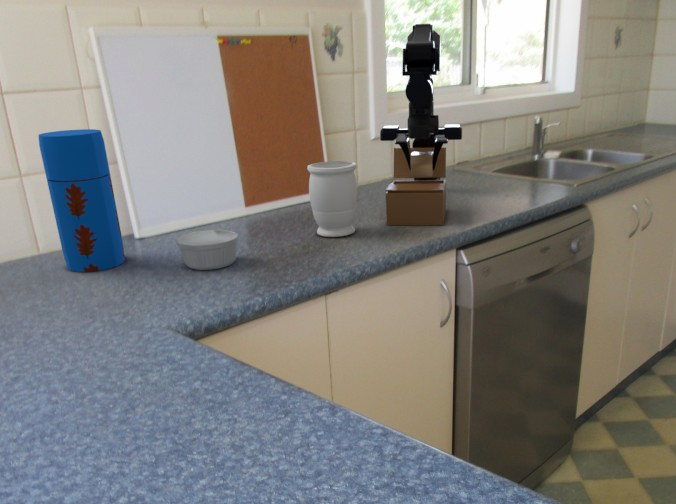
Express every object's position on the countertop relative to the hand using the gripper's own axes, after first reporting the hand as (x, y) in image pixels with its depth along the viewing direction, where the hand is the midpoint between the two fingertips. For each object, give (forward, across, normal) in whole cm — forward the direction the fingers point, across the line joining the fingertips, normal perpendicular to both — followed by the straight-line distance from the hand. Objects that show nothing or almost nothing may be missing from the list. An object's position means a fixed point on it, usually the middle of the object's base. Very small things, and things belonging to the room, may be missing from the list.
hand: (422, 170), depth 157 cm
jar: (+11, -18, -18) cm, 27 cm away
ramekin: (+11, -38, -40) cm, 56 cm away
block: (+1, 0, 0) cm, 1 cm away
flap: (-1, -1, +5) cm, 5 cm away
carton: (+10, -1, -4) cm, 11 cm away
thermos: (+11, -61, -40) cm, 74 cm away
